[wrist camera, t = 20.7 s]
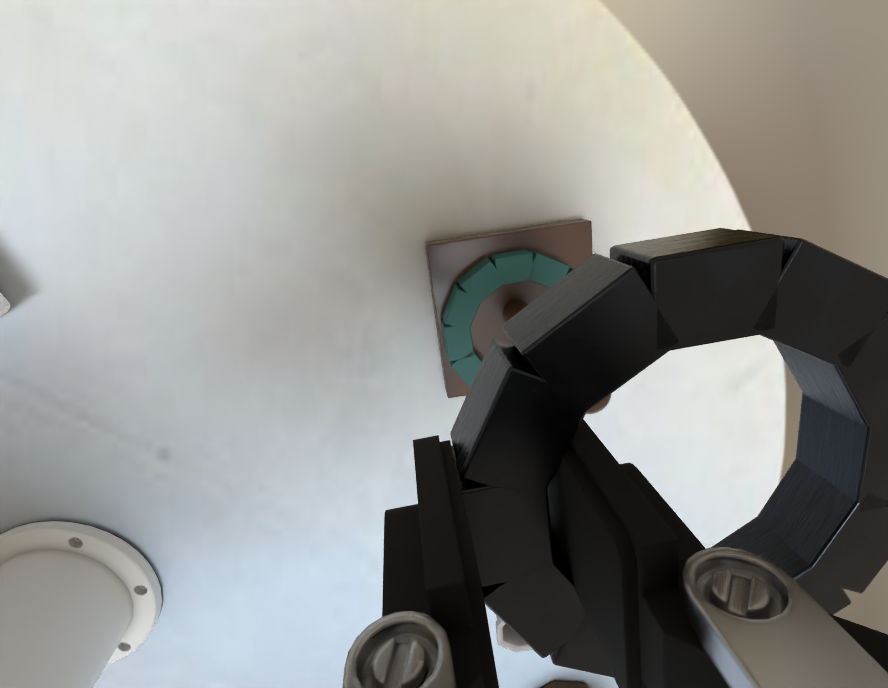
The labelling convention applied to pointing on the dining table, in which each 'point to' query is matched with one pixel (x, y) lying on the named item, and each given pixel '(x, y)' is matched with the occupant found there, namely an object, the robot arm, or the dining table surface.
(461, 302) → the teal ring
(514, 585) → the graphite ring
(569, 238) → the stand
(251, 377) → the dining table surface
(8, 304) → the mug
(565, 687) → the beer bottle
